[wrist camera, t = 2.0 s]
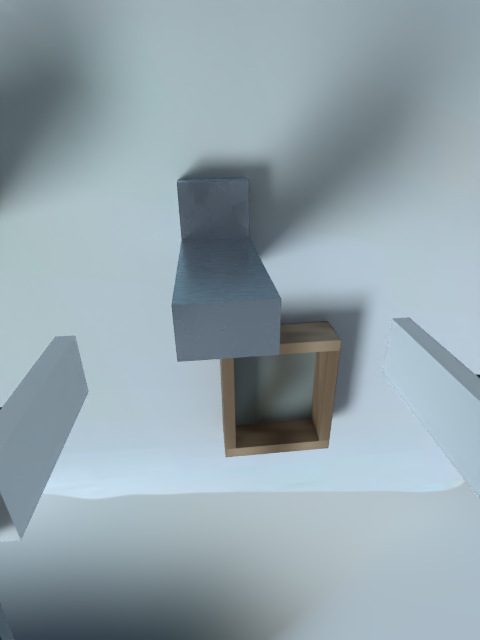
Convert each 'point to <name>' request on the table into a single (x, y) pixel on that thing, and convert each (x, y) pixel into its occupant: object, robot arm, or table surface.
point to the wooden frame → (282, 393)
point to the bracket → (221, 277)
